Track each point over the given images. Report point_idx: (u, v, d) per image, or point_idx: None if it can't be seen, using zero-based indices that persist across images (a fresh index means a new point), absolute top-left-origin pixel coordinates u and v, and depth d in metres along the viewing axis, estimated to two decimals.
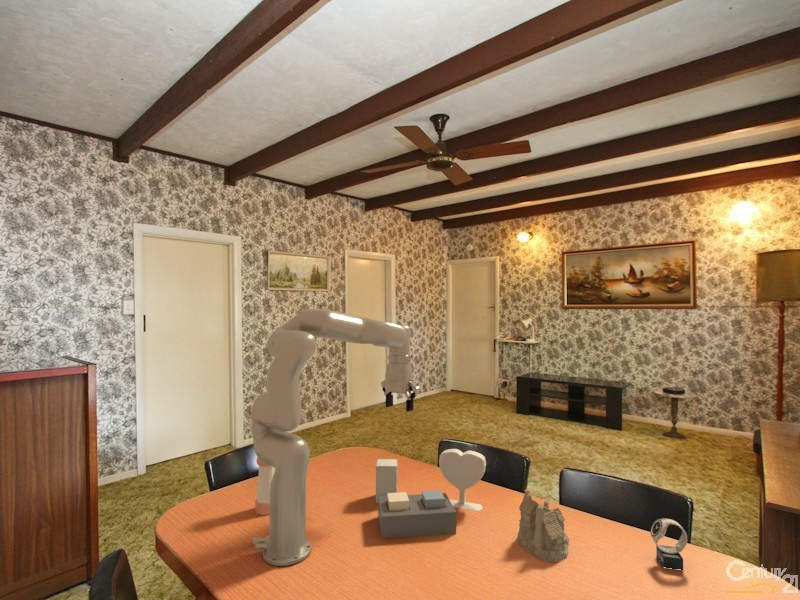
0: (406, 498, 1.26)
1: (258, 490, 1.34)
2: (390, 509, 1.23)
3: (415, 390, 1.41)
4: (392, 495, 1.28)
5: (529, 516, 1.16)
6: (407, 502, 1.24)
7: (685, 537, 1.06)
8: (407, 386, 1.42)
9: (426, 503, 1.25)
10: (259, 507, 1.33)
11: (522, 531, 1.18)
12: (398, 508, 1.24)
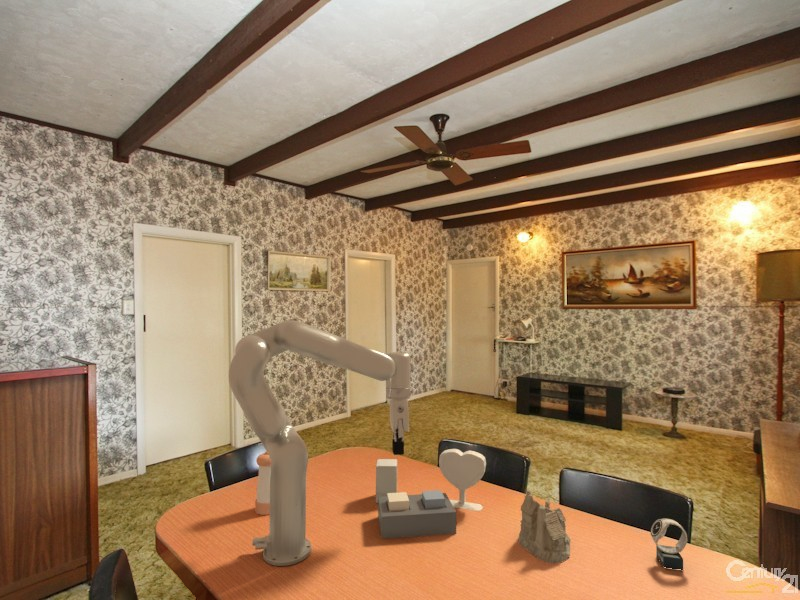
0: (406, 498, 1.26)
1: (258, 490, 1.34)
2: (390, 509, 1.23)
3: None
4: (392, 495, 1.28)
5: (530, 517, 1.16)
6: (407, 502, 1.24)
7: (685, 537, 1.06)
8: None
9: (426, 503, 1.25)
10: (259, 507, 1.33)
11: (523, 532, 1.17)
12: (398, 508, 1.24)
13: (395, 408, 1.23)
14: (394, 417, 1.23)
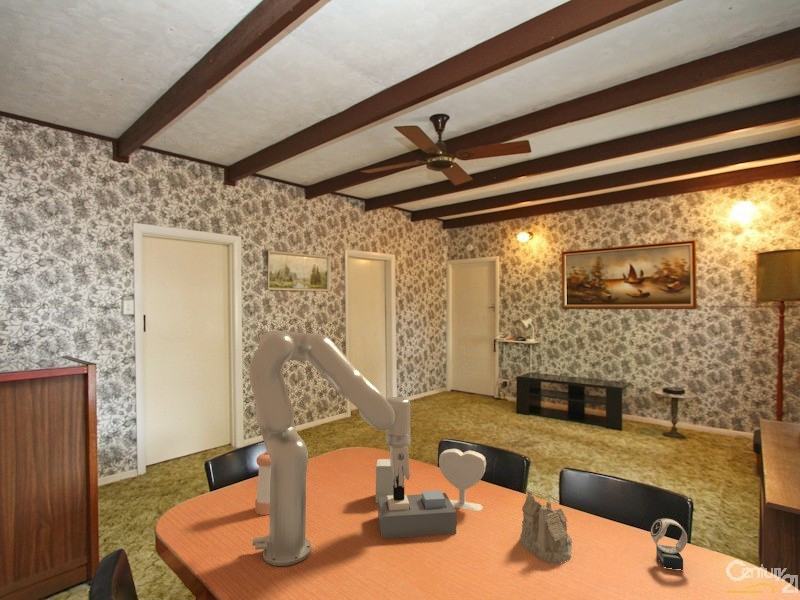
0: (406, 500, 1.26)
1: (258, 490, 1.34)
2: None
3: None
4: (392, 497, 1.28)
5: (532, 517, 1.16)
6: (407, 504, 1.24)
7: (685, 537, 1.06)
8: None
9: (426, 503, 1.25)
10: (259, 507, 1.33)
11: (525, 532, 1.17)
12: None
13: (395, 456, 1.22)
14: (394, 465, 1.22)
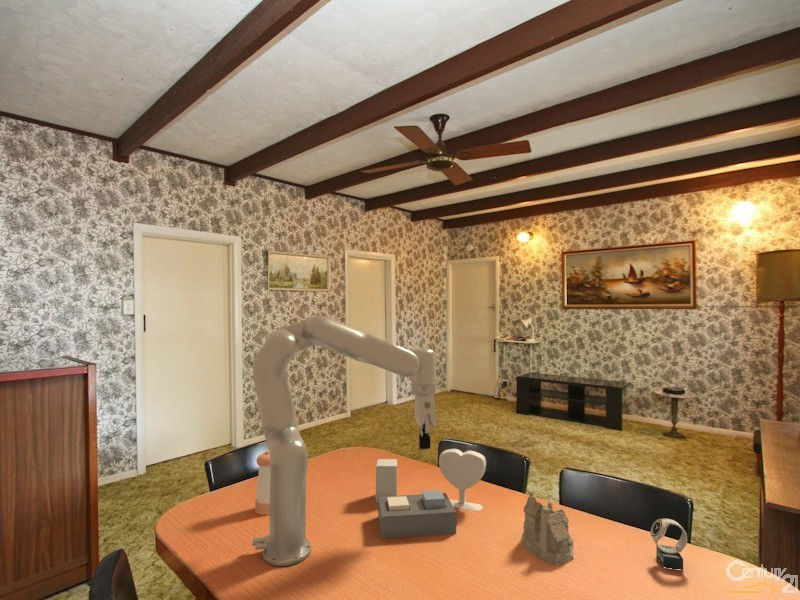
0: (406, 502, 1.25)
1: (258, 490, 1.34)
2: None
3: None
4: (392, 499, 1.28)
5: (534, 518, 1.15)
6: (407, 506, 1.24)
7: (685, 537, 1.06)
8: None
9: (426, 503, 1.25)
10: (259, 507, 1.33)
11: (526, 533, 1.17)
12: None
13: (422, 404, 1.24)
14: (421, 413, 1.24)
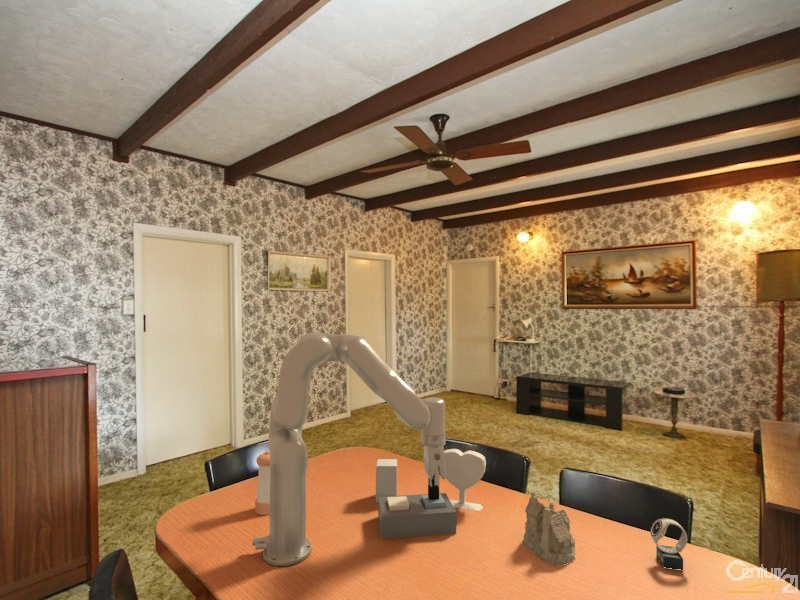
0: (406, 502, 1.25)
1: (258, 490, 1.34)
2: None
3: None
4: (392, 499, 1.28)
5: (535, 519, 1.15)
6: (407, 506, 1.24)
7: (685, 537, 1.06)
8: None
9: (426, 507, 1.25)
10: (259, 507, 1.33)
11: (528, 534, 1.16)
12: None
13: (432, 455, 1.24)
14: (431, 464, 1.24)
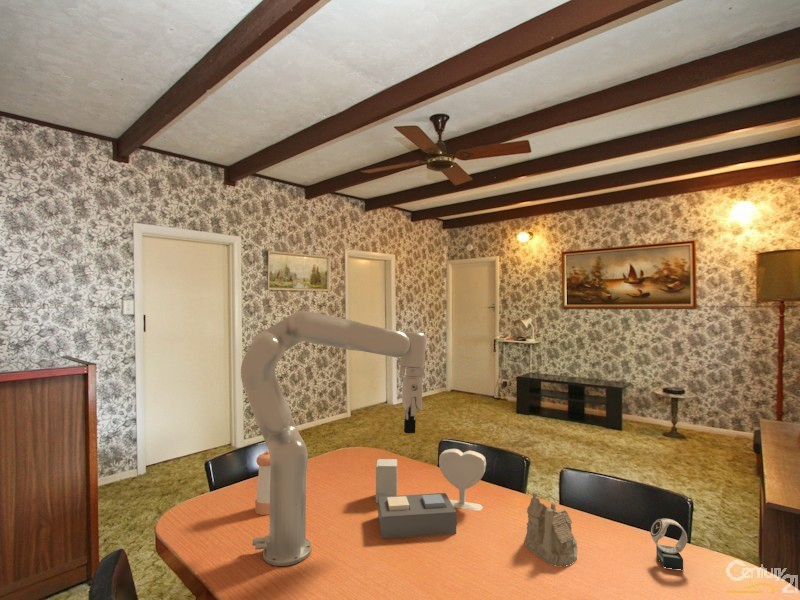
0: (406, 502, 1.25)
1: (258, 490, 1.34)
2: None
3: None
4: (392, 499, 1.28)
5: (537, 519, 1.14)
6: (407, 506, 1.24)
7: (685, 537, 1.06)
8: None
9: (426, 507, 1.25)
10: (259, 507, 1.33)
11: (530, 535, 1.16)
12: None
13: (409, 386, 1.23)
14: (407, 395, 1.22)
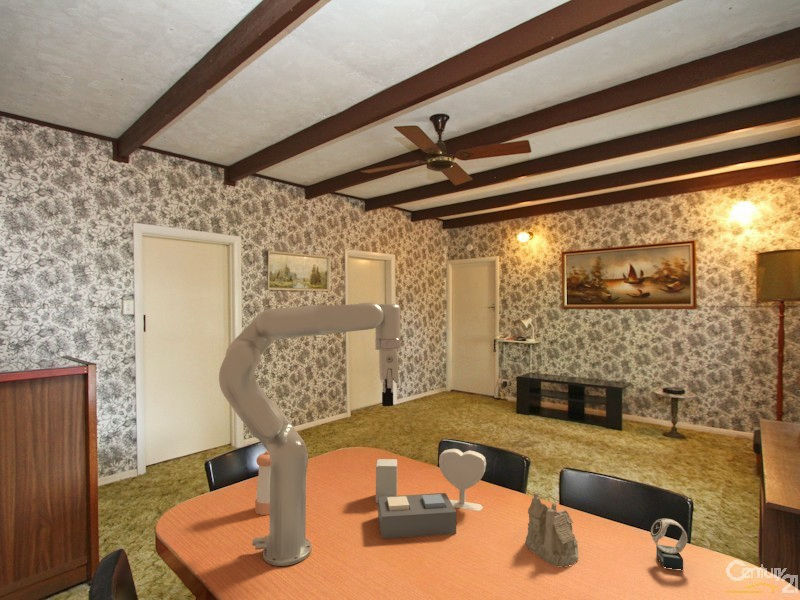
0: (406, 502, 1.25)
1: (258, 490, 1.34)
2: None
3: None
4: (392, 499, 1.28)
5: (538, 520, 1.14)
6: (407, 506, 1.24)
7: (685, 537, 1.06)
8: None
9: (426, 507, 1.25)
10: (259, 507, 1.33)
11: (531, 535, 1.16)
12: None
13: (384, 358, 1.21)
14: (383, 367, 1.21)
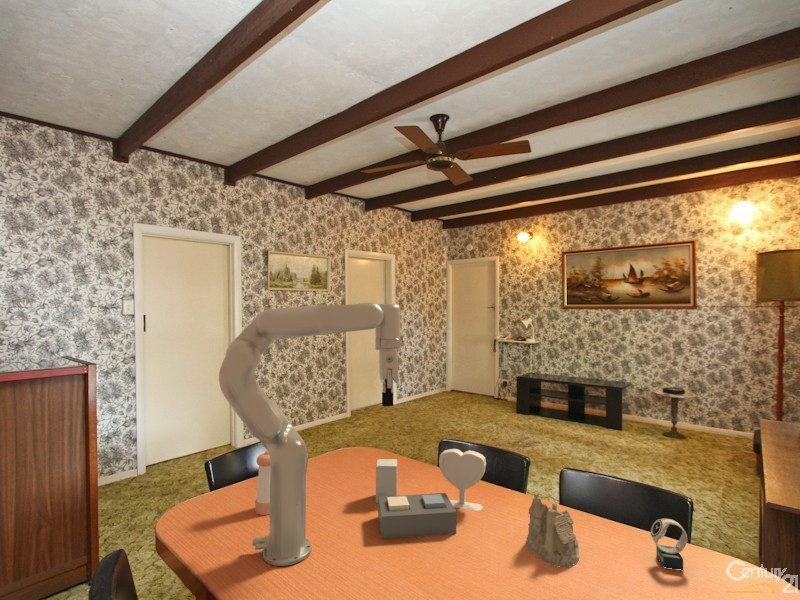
0: (406, 502, 1.25)
1: (258, 490, 1.34)
2: None
3: None
4: (392, 499, 1.28)
5: (539, 520, 1.14)
6: (407, 506, 1.24)
7: (685, 537, 1.06)
8: None
9: (426, 507, 1.25)
10: (259, 507, 1.33)
11: (532, 535, 1.15)
12: None
13: (384, 358, 1.21)
14: (383, 367, 1.21)
